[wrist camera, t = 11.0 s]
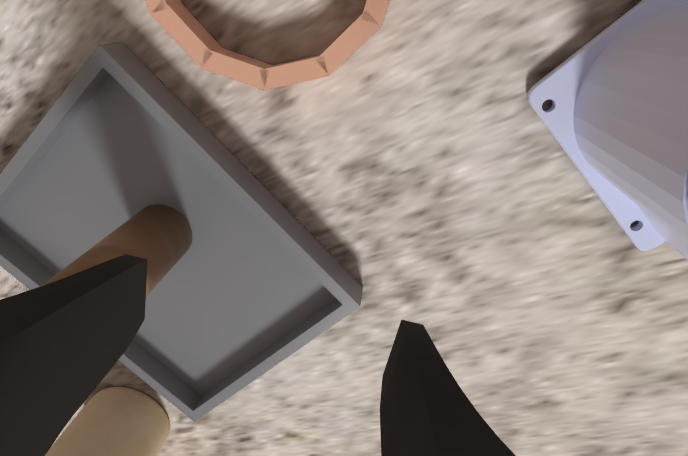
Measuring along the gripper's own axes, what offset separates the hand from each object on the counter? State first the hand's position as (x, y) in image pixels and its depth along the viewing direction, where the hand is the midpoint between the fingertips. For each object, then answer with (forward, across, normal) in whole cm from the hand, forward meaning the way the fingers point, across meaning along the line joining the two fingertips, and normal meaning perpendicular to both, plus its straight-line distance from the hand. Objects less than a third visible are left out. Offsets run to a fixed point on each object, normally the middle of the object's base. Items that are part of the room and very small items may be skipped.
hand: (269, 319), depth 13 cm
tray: (+11, +7, +5) cm, 14 cm away
